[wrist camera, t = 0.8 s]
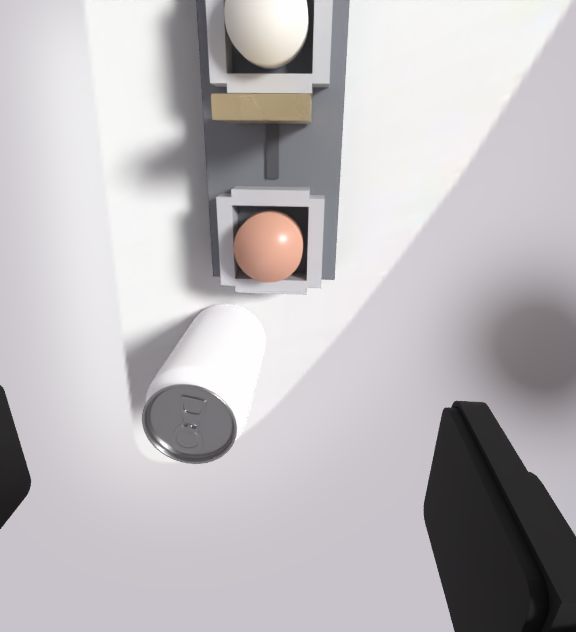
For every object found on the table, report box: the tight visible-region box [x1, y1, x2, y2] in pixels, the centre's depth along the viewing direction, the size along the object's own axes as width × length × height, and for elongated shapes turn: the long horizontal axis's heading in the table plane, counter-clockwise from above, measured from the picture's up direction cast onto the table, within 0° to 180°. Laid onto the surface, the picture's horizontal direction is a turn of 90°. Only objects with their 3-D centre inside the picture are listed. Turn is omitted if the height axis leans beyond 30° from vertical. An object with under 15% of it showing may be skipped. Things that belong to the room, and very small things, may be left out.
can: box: [142, 304, 266, 464], centre depth 30 cm, size 6×6×12 cm
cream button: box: [224, 0, 309, 69], centre depth 23 cm, size 4×4×2 cm
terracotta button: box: [234, 210, 303, 283], centre depth 28 cm, size 4×4×2 cm
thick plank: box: [211, 94, 312, 124], centre depth 24 cm, size 1×5×6 cm, turn 90°
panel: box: [196, 0, 349, 295], centre depth 28 cm, size 20×9×4 cm, turn 179°
